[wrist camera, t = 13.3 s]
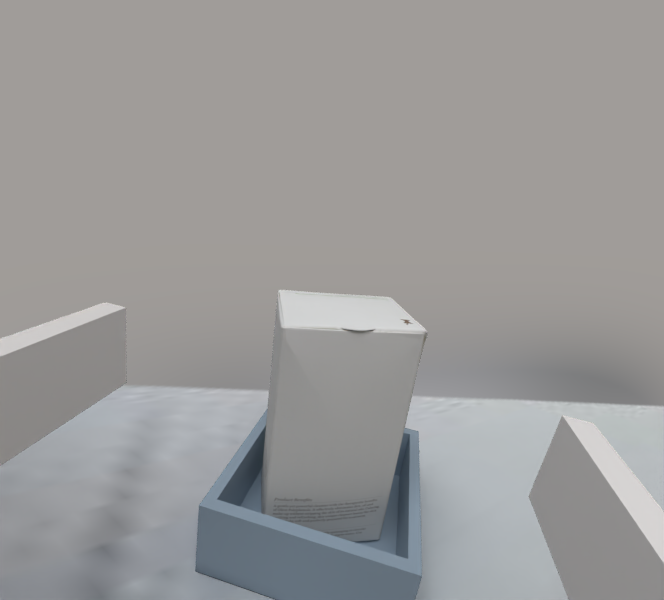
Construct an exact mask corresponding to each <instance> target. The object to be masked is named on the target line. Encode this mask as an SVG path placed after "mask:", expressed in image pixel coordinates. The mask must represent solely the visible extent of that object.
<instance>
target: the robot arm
mask: <svg viewBox="0 0 664 600" xmlns="http://www.w3.org/2000/svg"><path fill="white" fill-rule="evenodd" d="M126 377H127V376H126V307H122V306H118V305H113V304H110V303H106V302H104V303H101V304H99V305H96V306H93V307H90V308H87V309H84V310H81V311H78V312H76V313H73V314H70V315H67V316H64V317H61V318H58V319H55V320H53V321H50V322H47V323H44V324H41V325H38V326H35V327H32V328H30V329H27V330H24V331H21V332H18V333H15V334H12V335H9V336H7V337H4V338H1V339H0V466H1V465H2V464H4V463H5V462H7V461H8V460H10V459H11V458H13V457H14V456H16V455H17V454H19V453H20V452H22V451H23V450H25V449H27V448H28V447H30V446H31V445H33V444H34V443H36V442H37V441H39V440H40V439H42V438H43V437H45V436H46V435H48V434H49V433H51V432H52V431H54V430H56V429H57V428H59V427H60V426H62V425H63V424H65V423H66V422H68V421H69V420H71V419H72V418H74V417H75V416H77V415H78V414H80V413H81V412H83V411H84V410H86V409H88V408H89V407H91V406H92V405H94V404H95V403H97V402H98V401H100V400H101V399H103V398H104V397H106V396H107V395H109V394H110V393H112V392H113V391H115V390H116V389H118V388H120V387H121V386H123V385H124V384H126V383H127V382H126V381H127V380H126V379H127V378H126ZM529 498H530V501H531V504H532V506H533V509H534V511H535V514H536V517H537V519H538V522H539V524H540V527H541V529H542V532H543V535H544V537H545V540H546V542H547V545H548V547H549V550H550V553H551V555H552V558H553V560H554V563H555V565H556V568H557V571H558V573H559V576H560V578H561V581H562V583H563V586H564V589H565V591H566V594H567V596H568V599H569V600H664V511H663V510H662V508H661V507H660V506H659V505H658V503H657V502H656V501H655V500H654V498H653V497H652V496H651V495H650V493H649V492H648V491H647V490H646V488H645V487H644V486H643V485H642V483H641V482H640V481H639V480H638V478H637V477H636V476H635V475H634V473H633V472H632V471H631V470H630V468H629V467H628V466H627V465H626V463H625V462H624V461H623V460H622V458H621V457H620V456H619V455H618V453H617V452H616V451H615V449H614V448H613V447H612V446H611V444H610V443H609V442H608V441H607V439H606V438H605V437H604V436H603V434H602V433H601V432H600V431H599V429H598V428H597V427H596V426H595V424H594V423H591V422H587V421H583V420H579V419H575V418H571V417H567V416H563V415H562V417H561V420H560V422H559V425H558V427H557V429H556V432H555V434H554V437H553V439H552V441H551V444H550V446H549V449H548V451H547V453H546V456H545V458H544V461H543V463H542V465H541V468H540V470H539V472H538V475H537V477H536V480H535V482H534V484H533V487H532V489H531V492H530V494H529Z"/></svg>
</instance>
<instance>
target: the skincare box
mask: <svg viewBox="0 0 664 600" xmlns="http://www.w3.org/2000/svg"><path fill="white" fill-rule="evenodd" d="M427 335H428V332H427V331H426V329H424V328H423V327H422V326H421V325H420V324H419V323H418V322H417V321H416V320H415V319H413V318H412V317H411V316H410V315H409V314H408V313H407V312H406V311H405V310H404V309H403V308H401V307H400V306H399V305H398V304H397V303H396V302H395V301H394V300H393V299H392V298H390V297H379V296H363V295H346V294H331V293H316V292H302V291H290V290H278V296H277V308H276V319H275V330H274V340H273V353H272V365H271V377H270V388H269V398H268V409H267V421H266V432H265V443H264V453H263V465H262V474H261V513H262V514H265V515H269V516H272V517H275V518H278V519H281V520H285V521H288V522H291V523H294V524H297V525H301V526H304V527H307V528H310V529H313V530H317V531H320V532H323V533H326V534H329V535H333V536H336V537H339V538H342V539H345V540H349V541H352V542H358V541H370V540H378V539H379V538H380V536H381V532H382V527H383V523H384V518H385V514H386V509H387V505H388V500H389V495H390V490H391V486H392V482H393V477H394V473H395V468H396V464H397V460H398V455H399V451H400V446H401V442H402V437H403V433H404V428H405V424H406V420H407V415H408V411H409V406H410V402H411V398H412V393H413V389H414V384H415V380H416V375H417V370H418V366H419V363H420V359H421V355H422V351H423V347H424V343H425V341H426V338H427Z"/></svg>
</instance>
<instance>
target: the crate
mask: <svg viewBox="0 0 664 600" xmlns="http://www.w3.org/2000/svg"><path fill="white" fill-rule="evenodd" d="M266 421H267V410H266V411H265V413H264V414H263V416H262V417H261V418H260V420H259V421H258V423H257V424H256V426H255V427H254V428H253V430H252V431H251V433H250V434H249V435H248V437H247V438H246V440H245V441H244V442H243V444H242V445H241V447H240V448H239V450H238V451H237V452H236V454H235V455H234V457H233V458H232V459H231V461H230V462H229V464H228V465H227V467H226V468H225V469H224V471H223V472H222V474H221V475H220V476H219V478H218V479H217V481H216V482H215V484H214V485H213V486H212V488H211V489H210V491H209V492H208V493H207V495H206V496H205V498H204V499H203V500H202V502H201V503H200V505H199V515H198V533H197V552H196V570H195V571H196V572H199V573H202V574H205V575H208V576H211V577H213V578H216V579H219V580H222V581H225V582H228V583H231V584H233V585H236V586H239V587H242V588H245V589H248V590H251V591H253V592H256V593H259V594H262V595H265V596H268V597H271V598H273V599H276V600H415V598H416V594H417V591H418V588H419V584H420V581H421V578H422V558H421V516H420V474H419V432H418V431H415V430H411V429H407V428H404V433H403V437H402V442H401V446H400V451H399V455H398V460H397V464H396V468H395V473H394V477H393V482H392V486H391V490H390V495H389V500H388V505H387V509H386V514H385V518H384V523H383V527H382V532H381V536H380V538H379V539H378V540H370V541H358V542H352V541H349V540H345V539H342V538H339V537H336V536H333V535H329V534H326V533H323V532H320V531H317V530H313V529H310V528H307V527H304V526H301V525H297V524H294V523H291V522H288V521H285V520H281V519H278V518H275V517H272V516H269V515H265V514H262V513H261V474H262V465H263V453H264V443H265V432H266Z"/></svg>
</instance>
